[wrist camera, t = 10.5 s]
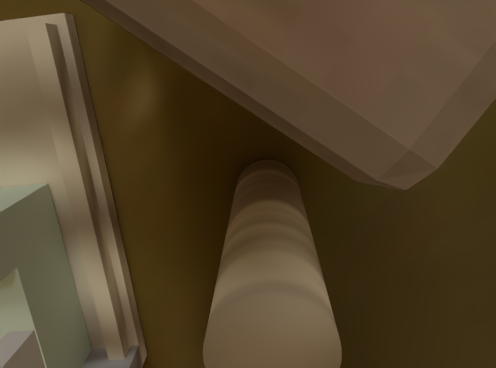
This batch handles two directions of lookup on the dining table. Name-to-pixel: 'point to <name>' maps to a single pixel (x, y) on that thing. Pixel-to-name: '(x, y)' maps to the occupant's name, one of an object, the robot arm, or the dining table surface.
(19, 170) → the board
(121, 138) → the dining table surface
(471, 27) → the wooden block
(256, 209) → the dowel
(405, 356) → the dining table surface
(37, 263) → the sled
